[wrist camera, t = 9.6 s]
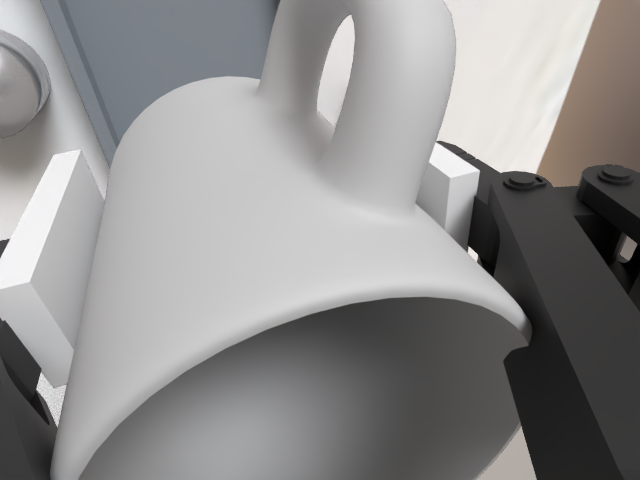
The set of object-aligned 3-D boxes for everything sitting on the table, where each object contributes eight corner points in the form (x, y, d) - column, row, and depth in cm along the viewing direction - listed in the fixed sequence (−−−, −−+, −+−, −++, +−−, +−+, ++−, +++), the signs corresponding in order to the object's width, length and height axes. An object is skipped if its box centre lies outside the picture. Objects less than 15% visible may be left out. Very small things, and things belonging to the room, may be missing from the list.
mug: (310, 284, 19) (434, 546, 11) (105, 279, 16) (46, 658, 7) (403, -2, 14) (817, 62, 5) (121, -106, 10) (-53, -435, 2)
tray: (129, 196, 31) (128, 211, 29) (15, -88, 21) (1, -93, 19) (304, 157, 34) (313, 169, 32) (273, -109, 24) (284, -114, 22)
